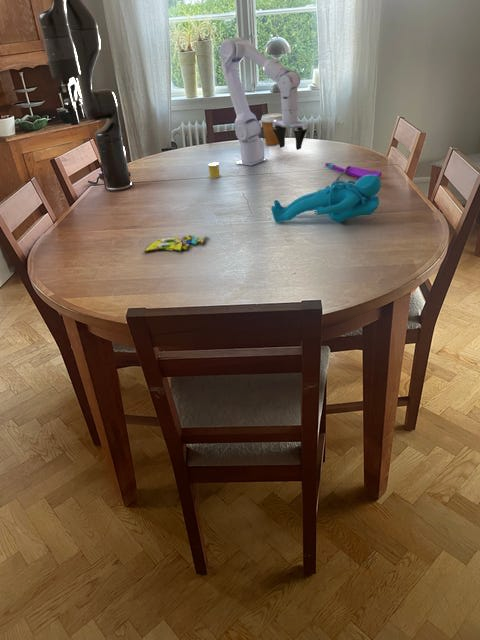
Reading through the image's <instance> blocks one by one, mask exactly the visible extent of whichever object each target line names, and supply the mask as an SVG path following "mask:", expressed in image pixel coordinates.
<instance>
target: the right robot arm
mask: <svg viewBox="0 0 480 640" xmlns="http://www.w3.org/2000/svg"><path fill="white" fill-rule="evenodd" d="M218 52H219V56H220V59H221V61H220V62H221V63H220V65H221V72H222V74H223V77H224V80H225V84H226V86H227V90H228V93H229V96H230V100H231V103H232V106H233V109H234V112H235V115H236V118H235V120H234V127H235V131H234V134H235V137H236V138H237V140H238V142H239V147H240V159H241V160H239V161H236V164H239V165H244V166H251V167H253V166H254V165H257V164H261V163H262V162H265V161H266V160H267V158H265V143H264V141H263V139H262V138H261V137H260V134H261V132H262V125H261V123H260V121H258V119H257V116H256V114H254V113H253V112H252V111H251V109H250V107H249V103H248V99H247V96H246V93H245V90H244V87H243V82H242V80H241V77H240V74H239V70H238V68H239V66H240V63H241V62H242V61H243V59H244V58H246V59H248V60H250V61H251V62H253V63H254V64H256V65H257V66H259V67H260V68H262V69H263V74H264V75H265V76H266V77H268V78H269V79H271V80H272V82H275V83H276V85H277V87H278V89H279V90H280V91H279V92H280V97H281V99H280V100H281V101H280V102H281V115H282V121H273V127H275V129H273V131H274V133H275V134H276V136H277V139H278V142H279V144H278V145H279V148H280V149H282V148H284V147H285V146H286V131H287V129H295V130H293V134H294V138H295V148H296V150H297V151H298V150H301V149H302V145H303V141H304V138H305V135H306V134H307V132H308V129H309V122H303V121H299V120H298V119H299V118H298V117H299V116H298V114H299V112H298V111H299V109H298V108H299V107H298V87H299V86H300V84H301V76H300V74H299V73H298V72H297V71H296V70H290V68H289V67H286V66H284V65H283V64H282V63H280V60H279V59H278V58H270V59H269V58H268V57H267V56H265V55H264V54H263V53H262V52H261V51H260V50H259V49H258V48H256V47H255V46H254V45H253V44H252V43H251V41H250V40H248V39H246V38H245V37H244V36H239V37H233V38H225V39H223V40H222V42H221V44H220V46H219V49H218Z"/></svg>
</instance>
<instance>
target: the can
mask: <svg viewBox="0 0 480 640" xmlns="http://www.w3.org/2000/svg"><path fill="white" fill-rule="evenodd" d="M219 165H220V164H219V162H211V163H209V164H208V172H209V178H210V179H217V178H218V179H219V178H220V177H221V176H220V166H219Z"/></svg>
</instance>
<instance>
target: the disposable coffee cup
mask: <svg viewBox="0 0 480 640" xmlns="http://www.w3.org/2000/svg"><path fill="white" fill-rule="evenodd" d="M260 120H261V123H262V128H263V135H264V141H265V145H268V146H275V145H279V142H278V139H277V136H276V134H275V133H274V131H273V129H275V127H273V121H282V113H278V112H275V113H273V112H272V113H266V114H263V115H261V118H260Z"/></svg>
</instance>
